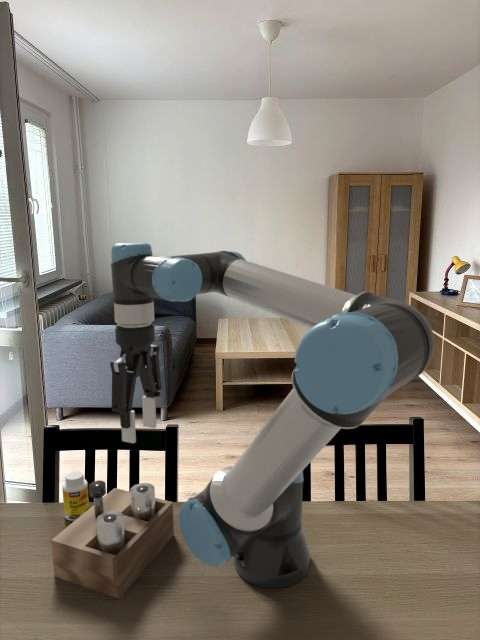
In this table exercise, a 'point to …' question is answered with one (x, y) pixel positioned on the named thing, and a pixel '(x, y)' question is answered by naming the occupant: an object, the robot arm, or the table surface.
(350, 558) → the table surface
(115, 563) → the wooden box
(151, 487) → the knob far
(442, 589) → the table surface
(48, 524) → the table surface
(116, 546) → the knob near
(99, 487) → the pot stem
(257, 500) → the robot arm
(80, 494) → the supplement bottle
